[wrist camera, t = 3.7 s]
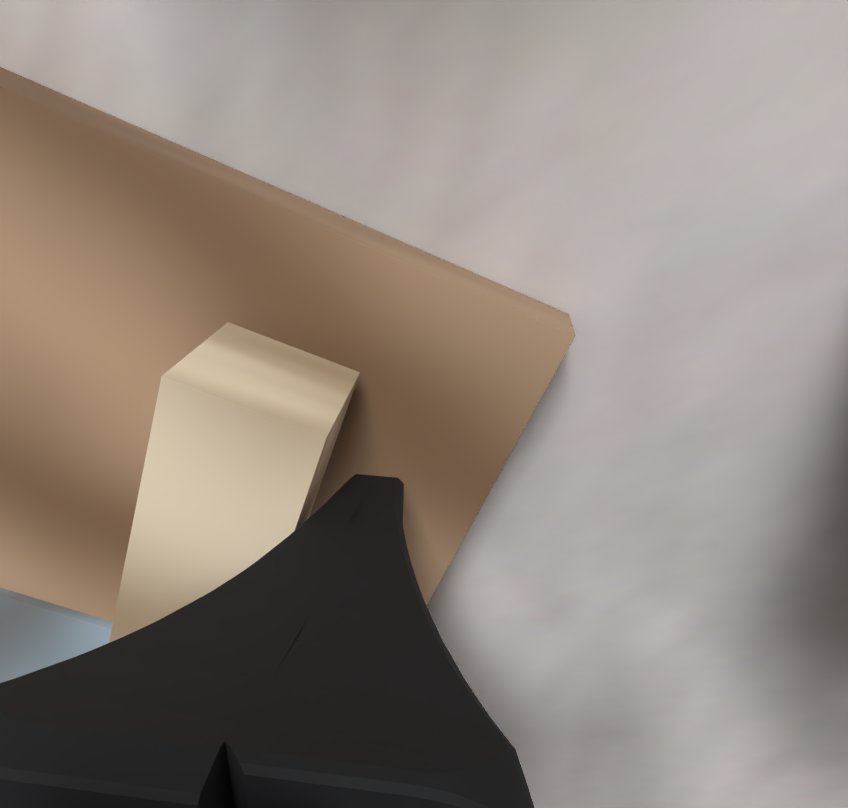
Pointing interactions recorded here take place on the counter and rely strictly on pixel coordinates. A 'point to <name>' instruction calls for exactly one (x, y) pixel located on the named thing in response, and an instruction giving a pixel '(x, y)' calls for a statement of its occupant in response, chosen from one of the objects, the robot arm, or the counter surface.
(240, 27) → the counter surface
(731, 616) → the counter surface
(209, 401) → the leg
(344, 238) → the board
